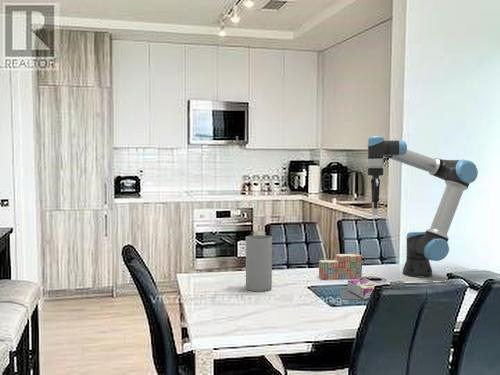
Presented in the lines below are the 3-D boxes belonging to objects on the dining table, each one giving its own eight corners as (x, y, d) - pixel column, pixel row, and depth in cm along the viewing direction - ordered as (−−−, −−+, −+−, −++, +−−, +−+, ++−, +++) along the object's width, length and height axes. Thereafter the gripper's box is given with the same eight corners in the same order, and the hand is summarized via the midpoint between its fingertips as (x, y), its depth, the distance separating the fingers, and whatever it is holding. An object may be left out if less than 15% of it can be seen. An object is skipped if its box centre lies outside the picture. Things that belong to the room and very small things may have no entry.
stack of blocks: (321, 280, 263) (321, 256, 262) (318, 277, 269) (318, 254, 269) (361, 279, 265) (362, 255, 264) (358, 276, 271) (358, 253, 271)
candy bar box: (368, 278, 243) (386, 287, 227) (368, 288, 243) (386, 298, 227) (347, 279, 240) (363, 288, 224) (346, 290, 240) (363, 299, 224)
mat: (373, 290, 240) (373, 290, 240) (378, 300, 224) (378, 299, 224) (338, 290, 242) (338, 289, 242) (341, 299, 225) (341, 299, 225)
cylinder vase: (269, 292, 238) (269, 239, 237) (243, 291, 240) (243, 238, 239) (273, 286, 250) (273, 235, 249) (248, 285, 253) (248, 234, 251)
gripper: (366, 167, 260) (365, 213, 261) (369, 167, 247) (369, 216, 248) (381, 167, 259) (380, 213, 260) (385, 167, 246) (385, 216, 247)
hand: (375, 214), depth 254 cm, fingers closed
